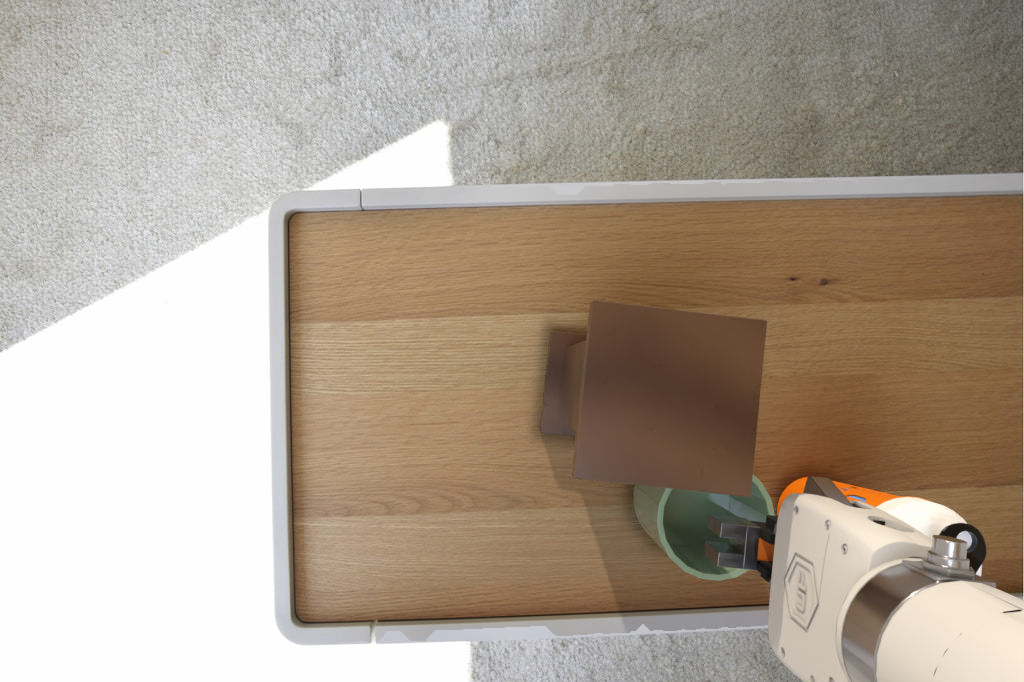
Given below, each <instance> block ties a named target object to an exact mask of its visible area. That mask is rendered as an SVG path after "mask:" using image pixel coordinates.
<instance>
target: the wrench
mask: <svg viewBox="0 0 1024 682" xmlns="http://www.w3.org/2000/svg"><path fill="white" fill-rule="evenodd" d="M707 528H709V529H710V530H711V531H713V532H714V533H715V534H717V535H718V536H719V537H721V538H730V543H720V542H711V541H705V550H704V554H705V555H706V556H707V557H708V558H709V559H710V560H711V561H712V562H713V563H715V564H716V565H717V566H719V567H728V568H737V569H746V570H749V571H755V572H756V571H757V562H758V561H759V560H762V561H771V562H773V556H774V547H775V545H773V544H769V543H767V542H766V541H764V540H763V539H761V537H760V530H761V528H760V527H759V526H757V525H755V524H754V523H752V522H750V521H749V520H747V519H746V518H741V517H731V516H723V515H714V514H708V520H707Z"/></svg>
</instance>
